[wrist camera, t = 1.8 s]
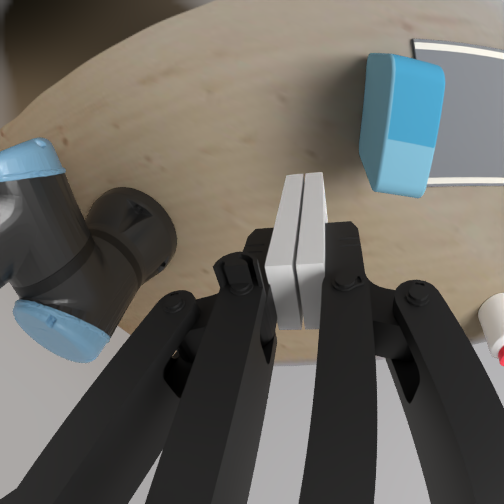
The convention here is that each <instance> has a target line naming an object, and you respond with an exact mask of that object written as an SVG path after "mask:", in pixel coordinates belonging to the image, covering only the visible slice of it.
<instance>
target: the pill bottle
mask: <svg viewBox="0 0 504 504" xmlns="http://www.w3.org/2000/svg"><path fill="white" fill-rule="evenodd" d="M478 318H479V321H480V324H481V327H482V329H483V332H484V335H485V338H486V341H487V344H488V347H489V350H490V353H491V355H492V356H493V357H494V358H498V359H499V361H500V364H501V365H502V366H504V293H498V294H495V295H493V296H491V297H490V298H489V299H487V300H486V301H485V302H484V303H483V304H482V306H481V307H480V309H479V311H478Z"/></svg>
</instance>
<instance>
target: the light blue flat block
mask: <svg viewBox="0 0 504 504" xmlns="http://www.w3.org/2000/svg"><path fill="white" fill-rule="evenodd" d="M444 91H445V75H444V72H443V70H442V68H441V67H440V66H439V65H435V64H432V63H428V62H424V61H420V60H416V59H412V58H408V57H404V56H399V55H394V54H384V53H370V54H369V56H368V59H367V67H366V81H365V93H364V103H363V113H362V123H361V131H360V140H359V155H360V158H361V161H362V163H363V166H364V169H365V171H366V174H367V177H368V179H369V182H370V185H371V188H372V190H373V191H375V192H381V193H388V194H395V195H401V196H408V197H414V198H420V197H421V196H422V195H423V194H424V192H425V189H426V186H427V182H428V178H429V173H430V169H431V165H432V160H433V155H434V151H435V146H436V141H437V135H438V130H439V124H440V118H441V112H442V105H443V98H444Z"/></svg>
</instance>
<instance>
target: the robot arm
mask: <svg viewBox="0 0 504 504" xmlns="http://www.w3.org/2000/svg"><path fill="white" fill-rule="evenodd" d="M65 172H66V170H65V168H63V167H62V165H61V163H60V161H59V159H58V156H57V154H56V152H55V149H54V147H53V145H52V143H51V142H50V141H49V140H47V139H45V138H34V139H31V140H28V141H25V142H23V143H20V144H18V145H15V146H13V147H10V148H8V149H5V150H3V151H1V152H0V288H1V287H3V286H4V285H5V284H6V283H8V282H10V284H11V285H12V287H13V288H14V290H15V291H16V293H17V294H18V296H19V300H17V301H16V302H15V306H14V308H13V315H14V316H15V320H16V321H17V323H18V324H19V325H20V327H21V328H22V329H23V330H24V331H25V332H26V333H27V334H28V335H29V336H30V337H32V338H33V339H34V340H35V341H36V342H37V343H39V344H40V345H42V346H43V347H44V348H46V349H48V350H49V351H51V352H53V353H54V354H56V355H58V356H60V357H63V358H65V359H68V360H71V361H74V362H79V363H88V362H91V361H93V360H95V359H96V358H97V357H98V355H99V354H100V352H101V351H102V349H103V348H104V346H105V345H106V343H108V342H109V340H110V338H111V336H112V334H113V333H114V331H115V329H116V327H117V325H118V324H119V322H120V320H121V318H122V317H123V315H124V313H125V311H126V310H127V308H128V306H129V304H130V303H131V301H132V299H133V298H134V296H135V294H136V293H137V291H138V289H139V288H140V286H141V285H143V284H144V283H145V282H147V281H148V280H150V279H151V278H153V277H154V276H155V275H157V274H158V273H160V272H161V271H162V270H164V268H165V267H166V266H167V265H168V263H169V262H170V260H171V259H172V257H173V255H174V253H175V251H176V246H177V237H176V231H175V228H174V225H173V223H172V221H171V219H170V217H169V215H168V214H167V213H166V211H165V210H164V209H163V208H162V206H161V205H160V204H159V203H158V202H156V201H155V200H154V199H153V198H151V197H150V196H148V195H147V194H145V193H143V192H141V191H138V190H136V189H132V188H126V187H120V188H114V189H111V190H109V191H107V192H105V193H104V194H103V195H102V196H101V197H100V198H98V199H97V200H96V201H95V202H94V204H93V205H92V207H91V209H90V211H89V213H88V215H87V217H86V220H84V218H83V216H82V213H81V211H80V209H79V207H78V204H77V202H76V200H75V197H74V195H73V193H72V190H71V188H70V185H69V183H68V180H67V178H66V175H65ZM213 269H214V271H215V274H216V277H217V280H218V283H219V286H220V291H219V293H217V294H215V295H212V296H208V297H204V298H200V299H195V297H194V296H193V294H192V293H191V292H188V291H186V290H178V291H174V292H171V293H169V294H167V295H165V296H164V297H163V298H162V299H160V300H159V301H158V303H157V304H156V305H155V306H154V307H153V309H152V310H151V311H150V312H149V314H148V315H147V316H146V317H145V318H144V320H143V321H142V322H141V323H140V325H139V326H138V327H137V328H136V329H135V331H134V332H133V333H132V334H131V336H130V337H129V338H128V339H127V341H126V342H125V343H124V344H123V346H122V347H121V348H120V349H119V351H118V352H117V353H116V355H115V356H114V357H113V358H112V360H111V361H110V362H109V364H108V365H107V366H106V367H105V368H104V370H103V371H102V372H101V374H100V375H99V376H98V377H97V379H96V380H95V382H94V383H93V384H92V385H91V387H90V388H89V389H88V391H87V392H86V393H85V394H84V396H83V397H82V398H81V400H80V401H79V402H78V404H77V405H76V406H75V408H74V409H73V410H72V412H71V413H70V414H69V416H68V417H67V418H66V420H65V421H64V423H63V424H62V425H61V426H60V428H59V429H58V431H57V432H56V433H55V435H54V436H53V437H52V439H51V440H50V442H49V443H48V444H47V446H46V447H45V449H44V450H43V451H42V453H41V454H40V456H39V457H38V458H37V460H36V461H35V463H34V464H33V466H32V467H31V469H30V470H29V471H28V473H27V474H26V476H25V477H24V479H23V480H22V481H21V483H20V484H19V486H18V487H17V489H15V490H14V491H12V492H11V493H9V494H8V495H6V496H5V497H3V498H2V499H0V504H128V503H129V501H130V499H131V498H132V496H133V495H134V493H135V492H136V490H137V489H138V487H139V486H140V484H141V483H142V481H143V479H144V478H145V476H146V475H147V473H148V472H149V470H150V469H151V467H152V465H153V464H154V462H155V461H156V459H157V458H158V456H159V454H160V453H161V451H162V450H163V451H162V454H161V457H160V460H159V463H158V466H157V469H156V472H155V475H154V478H153V481H152V484H151V487H150V490H149V494H148V496H147V499H146V502H145V504H247V500H248V496H249V491H250V486H251V481H252V477H253V472H254V467H255V461H256V457H257V452H258V447H259V442H260V436H261V431H262V426H263V421H264V415H265V409H266V404H267V399H268V393H269V387H270V382H271V376H272V370H273V364H274V358H275V352H276V346H277V337H276V333H275V328H276V323H278V327H279V330H298V329H302V320H303V317H304V324H305V329H319V341H318V354H317V367H316V378H315V388H314V398H313V407H312V415H311V424H310V432H309V439H308V447H307V454H306V461H305V468H304V475H303V480H302V487H301V493H300V498H299V504H374V494H375V480H376V459H377V381H376V360H375V355H376V356H381V357H385V358H386V362H387V364H388V367H389V370H390V372H391V375H392V378H393V381H394V383H395V386H396V389H397V392H398V395H399V397H400V400H401V403H402V406H403V409H404V412H405V415H406V418H407V421H408V424H409V428H410V430H411V434H412V437H413V440H414V444H415V447H416V450H417V454H418V457H419V460H420V463H421V467H422V471H423V475H424V478H425V482H426V486H427V490H428V494H429V498H430V502H431V504H504V408H503V405H502V403H501V401H500V399H499V397H498V395H497V393H496V391H495V388H494V387H493V384H492V382H491V381H490V378H489V377H488V375H487V373H486V371H485V369H484V367H483V365H482V363H481V361H480V359H479V358H478V356H477V354H476V352H475V350H474V348H473V347H472V345H471V343H470V341H469V340H468V338H467V336H466V334H465V333H464V331H463V329H462V328H461V326H460V324H459V323H458V321H457V319H456V318H455V316H454V314H453V313H452V311H451V310H450V308H449V306H448V305H447V303H446V302H445V300H444V299H443V297H442V296H441V294H440V293H439V291H438V290H437V289H436V288H435V287H434V286H433V285H432V284H430V283H428V282H426V281H421V280H409V281H406V282H404V283H402V284H400V285H399V286H398V287H397V288H396V290H391V289H386V288H382V287H379V286H377V285H375V284H373V283H372V282H371V281H369V279H368V278H367V277H366V274H365V270H364V263H363V257H362V250H361V244H360V239H359V232H358V228H357V227H356V226H355V225H354V224H353V223H352V222H351V221H349V222H334V223H328V219H327V209H326V199H325V190H324V181H323V173H322V172H316V173H306V176H305V183H304V177H303V174H294V175H286V180H285V184H284V188H283V192H282V196H281V201H280V205H279V209H278V213H277V217H276V221H275V226H274V228H263V229H255V230H254V231H253V232H252V233H251V234H250V235H249V236H248V238H247V241H246V244H245V247H244V250H243V252H235V253H230V254H228V255H226V256H223V257H222V258H220V259H219V260H218V261H217V262H216V263H215V264H214V266H213ZM176 350H177V352H176V353H175V354H174V352H175V351H176ZM173 354H174V355H173ZM172 355H173V356H172Z"/></svg>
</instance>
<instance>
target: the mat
mask: <svg viewBox="0 0 504 504" xmlns="http://www.w3.org/2000/svg"><path fill="white" fill-rule="evenodd" d="M412 40H413V47H414V54H415V59H416V60H420V61H424V62H428V63H432V64H435V65H439V66H440V67H441V68H442V70H443V72H444V75H445V91H444V98H443V105H442V112H441V118H440V124H439V130H438V135H437V141H436V146H435V151H434V155H433V160H432V165H431V169H430V173H429V178H428V182H427V186H426V187H433V186H504V50H501V49H496V48H491V47H485V46H479V45H473V44H466V43H458V42H449V41H439V40H427V39H412Z"/></svg>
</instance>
